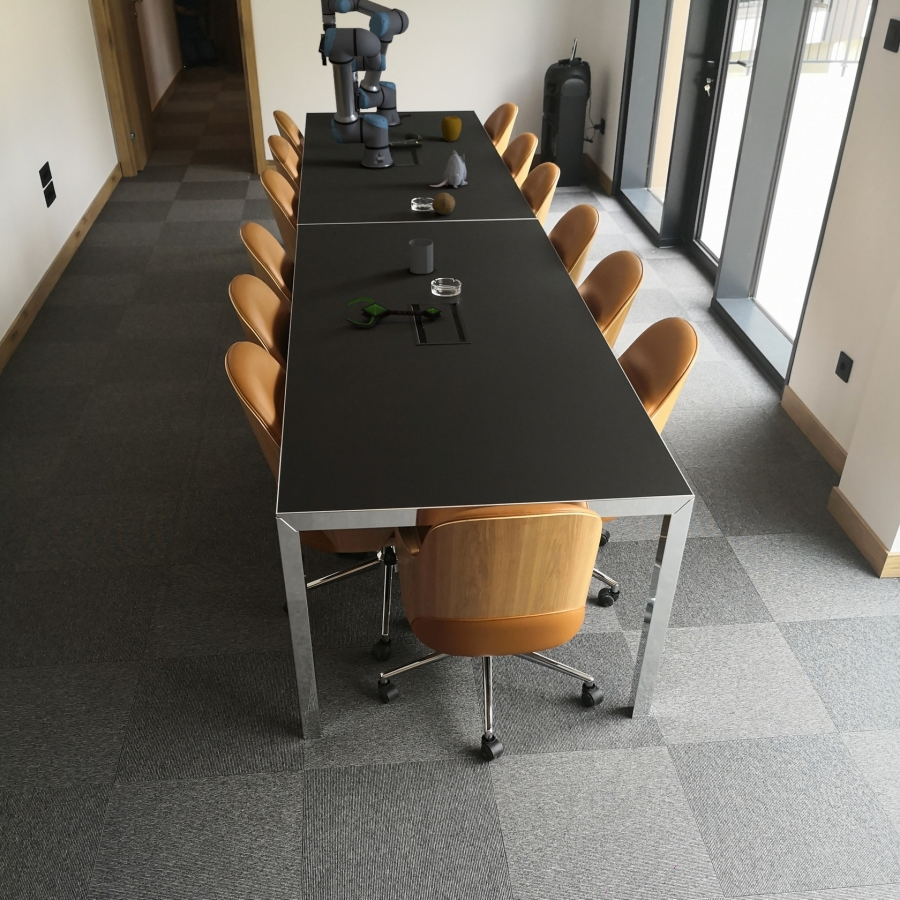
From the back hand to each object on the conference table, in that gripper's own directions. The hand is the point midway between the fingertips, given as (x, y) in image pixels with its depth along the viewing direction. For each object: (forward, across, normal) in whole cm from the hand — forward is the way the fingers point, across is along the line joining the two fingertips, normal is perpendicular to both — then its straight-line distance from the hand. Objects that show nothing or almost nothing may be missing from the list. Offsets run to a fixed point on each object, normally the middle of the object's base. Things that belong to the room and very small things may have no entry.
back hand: (332, 64), depth 500 cm
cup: (+30, -180, -178) cm, 255 cm away
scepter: (+30, -221, -194) cm, 296 cm away
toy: (+30, -89, -132) cm, 162 cm away
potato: (+30, -121, -150) cm, 196 cm away
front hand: (+20, -51, -52) cm, 76 cm away
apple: (+30, -10, -87) cm, 93 cm away
